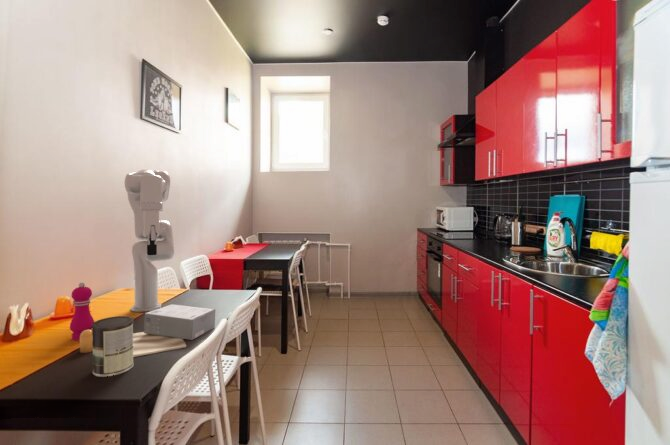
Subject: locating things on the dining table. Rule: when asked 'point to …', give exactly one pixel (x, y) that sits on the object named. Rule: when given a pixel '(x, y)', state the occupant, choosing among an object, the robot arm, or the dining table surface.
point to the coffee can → (112, 345)
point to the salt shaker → (86, 341)
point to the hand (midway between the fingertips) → (151, 254)
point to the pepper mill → (81, 311)
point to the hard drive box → (179, 321)
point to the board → (154, 343)
